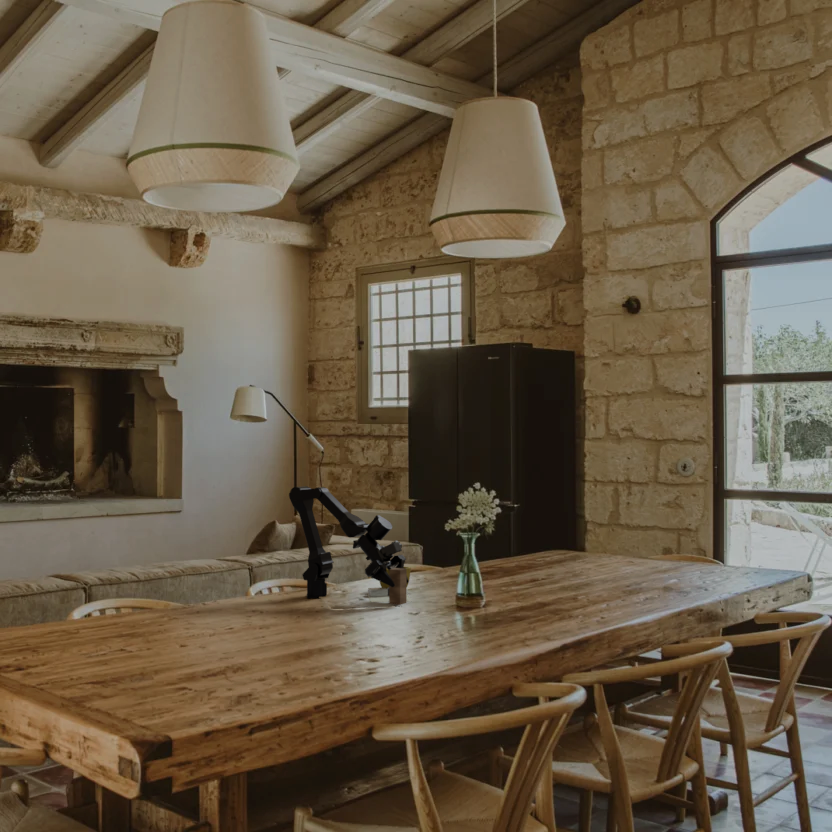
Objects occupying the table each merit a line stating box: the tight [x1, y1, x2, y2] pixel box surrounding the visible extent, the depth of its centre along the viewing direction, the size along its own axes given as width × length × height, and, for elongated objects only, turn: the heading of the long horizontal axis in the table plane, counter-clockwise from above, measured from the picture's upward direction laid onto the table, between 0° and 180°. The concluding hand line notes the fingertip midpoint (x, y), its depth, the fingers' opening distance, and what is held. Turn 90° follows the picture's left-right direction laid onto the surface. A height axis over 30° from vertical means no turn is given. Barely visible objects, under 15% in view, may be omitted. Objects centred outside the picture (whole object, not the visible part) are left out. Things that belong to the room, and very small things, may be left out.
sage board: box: [367, 593, 412, 603], centre depth 346 cm, size 14×16×1 cm
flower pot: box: [379, 566, 412, 588], centre depth 360 cm, size 9×9×9 cm
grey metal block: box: [367, 587, 388, 597], centre depth 350 cm, size 6×4×2 cm, turn 106°
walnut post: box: [388, 568, 408, 606], centre depth 335 cm, size 4×4×12 cm
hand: (401, 584), depth 335 cm, fingers open, 9 cm apart
